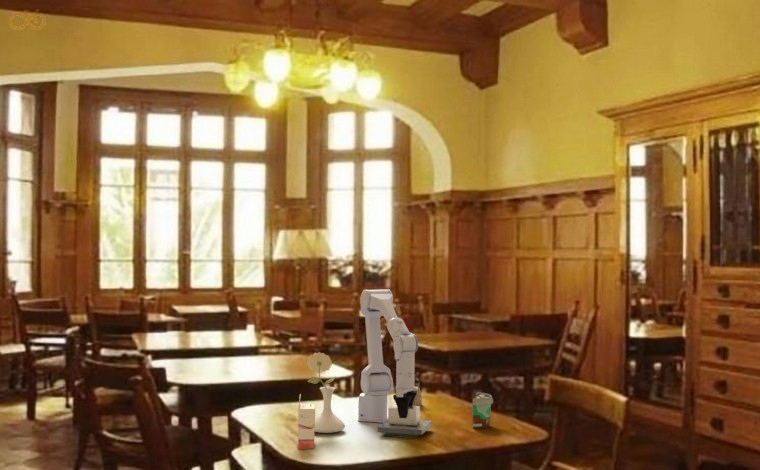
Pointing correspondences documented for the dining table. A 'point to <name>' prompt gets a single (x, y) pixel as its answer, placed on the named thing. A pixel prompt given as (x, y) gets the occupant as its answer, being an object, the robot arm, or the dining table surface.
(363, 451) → the dining table surface
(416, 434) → the stand
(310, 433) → the juice box
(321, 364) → the flower in vase
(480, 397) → the food container
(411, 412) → the block
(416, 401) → the figurine
